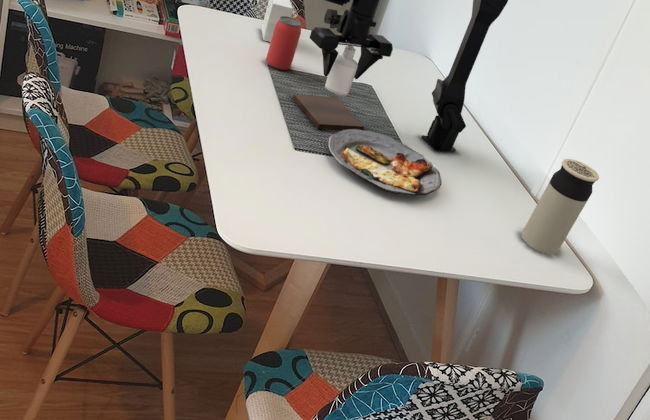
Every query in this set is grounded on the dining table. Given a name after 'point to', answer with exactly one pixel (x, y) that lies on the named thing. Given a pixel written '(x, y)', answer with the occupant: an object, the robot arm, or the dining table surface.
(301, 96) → the walnut board
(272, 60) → the beer can
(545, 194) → the travel mug
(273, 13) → the small box
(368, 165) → the food plate
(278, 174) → the dining table surface
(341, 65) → the eye dropper bottle
